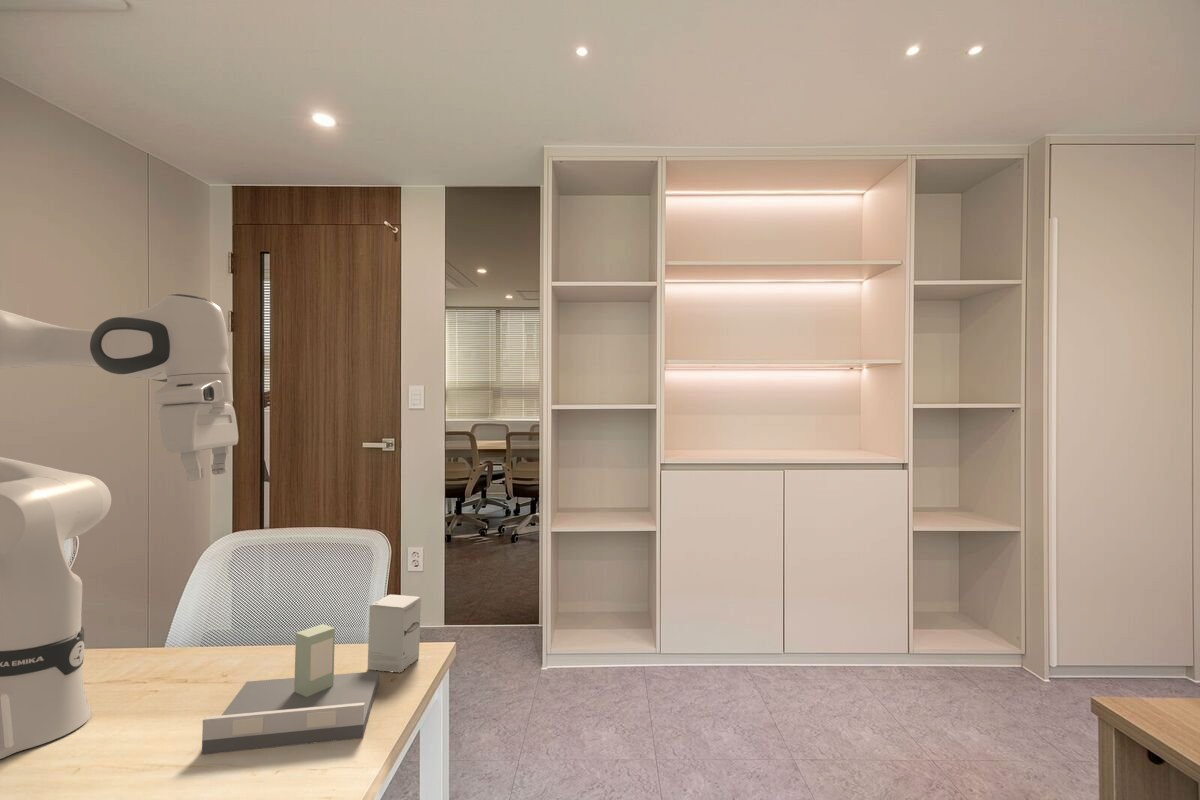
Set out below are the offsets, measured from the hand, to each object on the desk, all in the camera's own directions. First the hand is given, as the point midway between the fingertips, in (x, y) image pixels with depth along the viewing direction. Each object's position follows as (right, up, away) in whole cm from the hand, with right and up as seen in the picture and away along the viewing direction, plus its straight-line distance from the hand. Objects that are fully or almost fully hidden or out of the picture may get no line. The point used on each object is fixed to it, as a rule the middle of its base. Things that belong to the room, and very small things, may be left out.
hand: (208, 477), depth 98 cm
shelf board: (+15, -39, 0) cm, 42 cm away
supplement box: (+24, -40, +20) cm, 50 cm away
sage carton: (+15, -37, +5) cm, 40 cm away
